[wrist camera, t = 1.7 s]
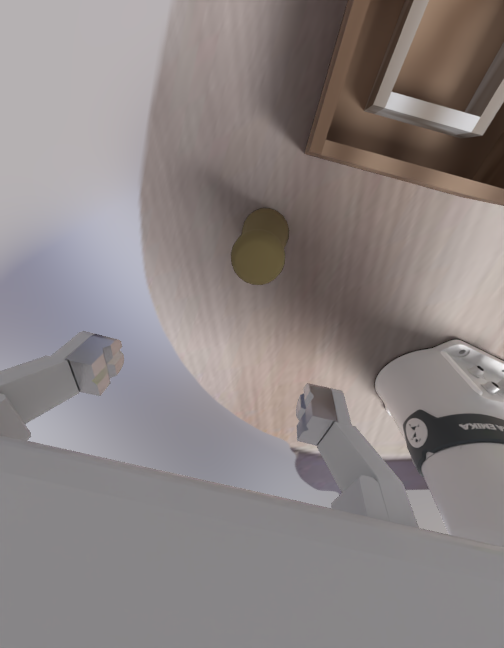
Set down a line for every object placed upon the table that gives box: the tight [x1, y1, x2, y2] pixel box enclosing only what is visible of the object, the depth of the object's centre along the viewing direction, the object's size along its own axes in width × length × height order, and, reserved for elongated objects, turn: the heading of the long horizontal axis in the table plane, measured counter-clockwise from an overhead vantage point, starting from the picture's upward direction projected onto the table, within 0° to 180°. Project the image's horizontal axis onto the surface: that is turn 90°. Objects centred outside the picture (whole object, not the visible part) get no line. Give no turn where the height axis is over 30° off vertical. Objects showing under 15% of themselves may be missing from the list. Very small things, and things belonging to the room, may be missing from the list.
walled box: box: [304, 0, 504, 206], centre depth 17 cm, size 18×18×7 cm
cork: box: [231, 208, 289, 285], centre depth 26 cm, size 6×6×11 cm
